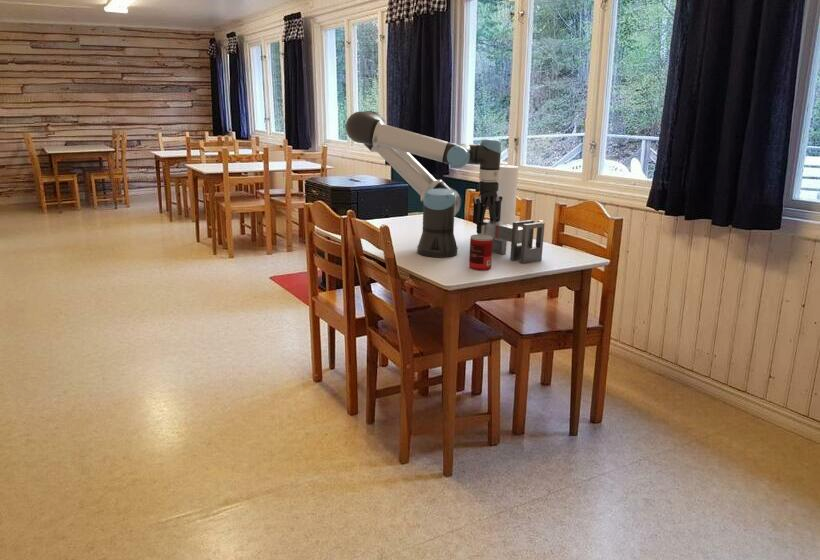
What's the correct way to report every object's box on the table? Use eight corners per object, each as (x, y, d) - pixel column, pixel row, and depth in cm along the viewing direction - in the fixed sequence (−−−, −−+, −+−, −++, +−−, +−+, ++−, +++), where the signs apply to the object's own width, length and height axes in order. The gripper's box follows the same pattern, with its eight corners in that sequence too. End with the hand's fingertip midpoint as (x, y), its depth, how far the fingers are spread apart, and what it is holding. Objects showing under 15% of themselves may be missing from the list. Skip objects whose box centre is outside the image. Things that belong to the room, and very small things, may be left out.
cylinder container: (515, 237, 266) (520, 166, 258) (493, 236, 266) (497, 165, 258) (512, 232, 275) (516, 164, 267) (490, 232, 275) (495, 163, 267)
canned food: (489, 265, 217) (491, 234, 214) (492, 271, 210) (494, 239, 207) (467, 264, 217) (469, 234, 214) (470, 270, 209) (472, 238, 206)
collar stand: (523, 263, 220) (526, 225, 216) (510, 260, 225) (512, 222, 222) (545, 259, 227) (549, 222, 223) (532, 256, 232) (535, 219, 228)
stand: (501, 254, 234) (502, 241, 232) (481, 248, 242) (482, 236, 241) (505, 253, 235) (506, 240, 234) (486, 248, 244) (486, 235, 242)
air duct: (476, 233, 241) (477, 220, 240) (486, 231, 244) (487, 219, 243) (517, 243, 224) (518, 230, 223) (527, 242, 227) (528, 228, 226)
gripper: (478, 183, 227) (474, 245, 234) (512, 180, 238) (508, 239, 244) (464, 180, 233) (461, 241, 239) (499, 178, 243) (495, 236, 250)
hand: (485, 240), depth 242 cm, fingers closed on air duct, 5 cm apart
